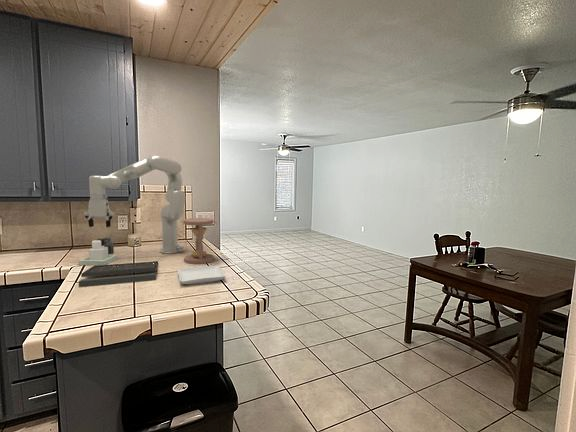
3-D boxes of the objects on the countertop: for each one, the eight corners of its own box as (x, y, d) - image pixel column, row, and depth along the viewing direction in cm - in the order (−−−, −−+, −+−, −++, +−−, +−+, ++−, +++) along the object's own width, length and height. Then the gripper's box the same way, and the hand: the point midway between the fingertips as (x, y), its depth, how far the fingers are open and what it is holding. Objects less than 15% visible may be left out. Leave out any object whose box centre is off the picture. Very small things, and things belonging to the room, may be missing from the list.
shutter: (94, 278, 163) (79, 291, 134) (93, 265, 163) (77, 275, 134) (158, 270, 175) (156, 280, 146) (157, 258, 175) (155, 265, 146)
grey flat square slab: (176, 274, 156) (176, 268, 155) (218, 270, 164) (217, 264, 164) (179, 288, 137) (179, 281, 136) (226, 282, 145) (226, 275, 145)
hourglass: (213, 263, 176) (213, 221, 173) (182, 264, 173) (181, 221, 170) (214, 256, 193) (214, 217, 191) (186, 257, 190) (185, 217, 187)
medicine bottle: (96, 258, 178) (95, 238, 176) (108, 258, 178) (107, 238, 177) (89, 261, 170) (87, 241, 169) (102, 261, 171) (101, 241, 170)
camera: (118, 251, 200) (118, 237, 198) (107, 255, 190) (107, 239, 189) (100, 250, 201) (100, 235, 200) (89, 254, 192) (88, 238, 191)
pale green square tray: (117, 259, 181) (117, 255, 181) (103, 265, 167) (103, 261, 167) (94, 258, 181) (94, 254, 181) (78, 265, 167) (78, 260, 167)
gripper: (116, 197, 175) (118, 226, 177) (87, 196, 175) (88, 225, 177) (109, 198, 168) (111, 228, 170) (78, 197, 168) (80, 227, 170)
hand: (99, 226), depth 174 cm, fingers open, 9 cm apart
